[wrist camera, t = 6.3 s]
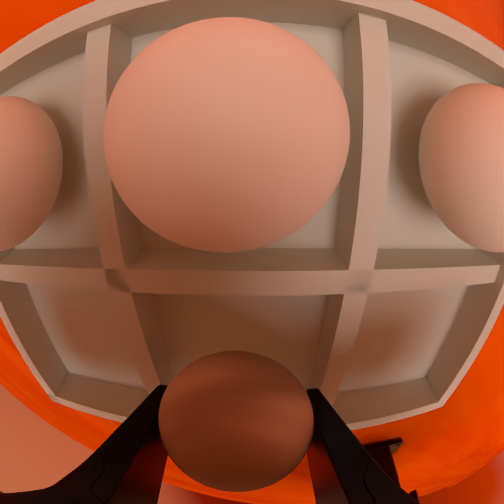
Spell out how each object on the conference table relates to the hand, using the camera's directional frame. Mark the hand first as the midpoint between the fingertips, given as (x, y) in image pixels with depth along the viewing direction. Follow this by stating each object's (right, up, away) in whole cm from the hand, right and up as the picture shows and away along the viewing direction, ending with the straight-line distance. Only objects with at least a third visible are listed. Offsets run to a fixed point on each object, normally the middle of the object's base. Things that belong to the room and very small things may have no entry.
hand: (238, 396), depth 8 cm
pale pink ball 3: (-7, +8, -1) cm, 11 cm away
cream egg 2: (0, +8, -1) cm, 8 cm away
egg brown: (0, +1, +1) cm, 1 cm away
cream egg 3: (+7, +8, -1) cm, 11 cm away
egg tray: (0, +5, +1) cm, 5 cm away
